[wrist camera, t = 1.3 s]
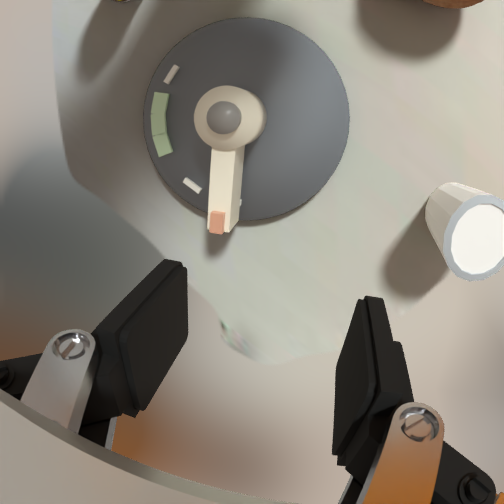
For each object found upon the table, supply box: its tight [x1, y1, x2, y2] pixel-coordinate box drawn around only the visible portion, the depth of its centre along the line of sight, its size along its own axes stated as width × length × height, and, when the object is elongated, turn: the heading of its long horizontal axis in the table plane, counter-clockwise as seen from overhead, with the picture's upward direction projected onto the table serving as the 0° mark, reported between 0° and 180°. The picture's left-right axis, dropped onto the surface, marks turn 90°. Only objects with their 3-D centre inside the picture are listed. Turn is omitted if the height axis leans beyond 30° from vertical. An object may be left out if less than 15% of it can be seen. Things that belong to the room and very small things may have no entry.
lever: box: [194, 85, 267, 234], centre depth 24 cm, size 11×5×4 cm, turn 175°
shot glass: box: [425, 183, 504, 281], centre depth 22 cm, size 7×7×7 cm
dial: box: [143, 18, 350, 220], centre depth 25 cm, size 18×18×2 cm
